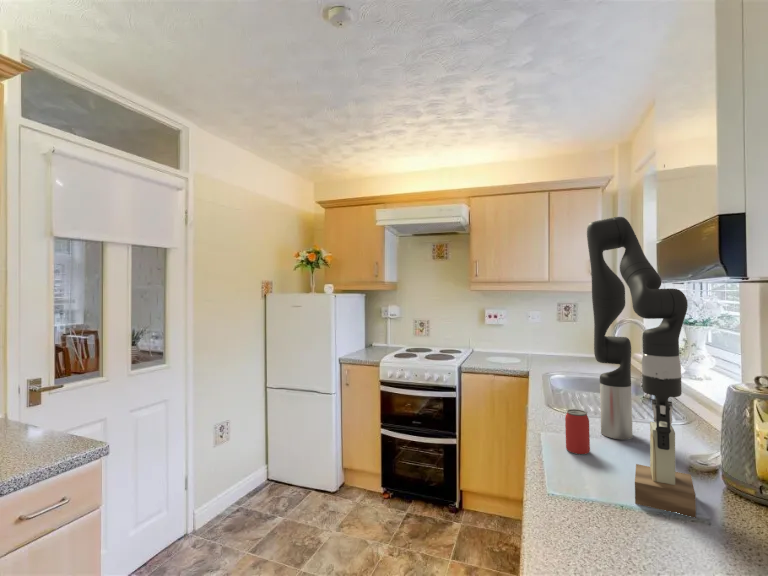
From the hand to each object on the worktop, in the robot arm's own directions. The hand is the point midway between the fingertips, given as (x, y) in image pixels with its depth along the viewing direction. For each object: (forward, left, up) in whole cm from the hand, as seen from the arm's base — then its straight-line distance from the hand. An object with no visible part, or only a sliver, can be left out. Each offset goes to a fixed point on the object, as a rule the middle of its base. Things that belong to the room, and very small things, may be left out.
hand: (662, 442), depth 92 cm
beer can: (-20, -21, -14) cm, 32 cm away
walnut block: (0, 0, -13) cm, 13 cm away
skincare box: (0, 0, -9) cm, 9 cm away
